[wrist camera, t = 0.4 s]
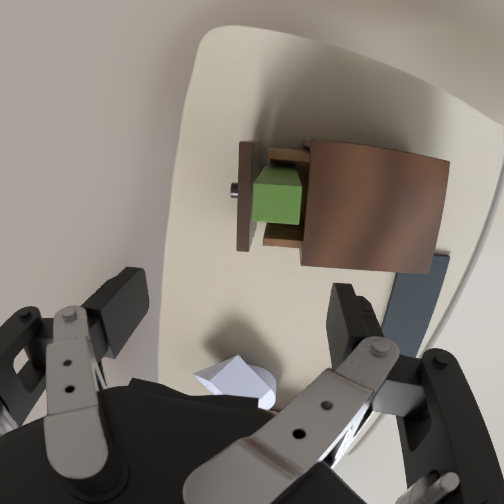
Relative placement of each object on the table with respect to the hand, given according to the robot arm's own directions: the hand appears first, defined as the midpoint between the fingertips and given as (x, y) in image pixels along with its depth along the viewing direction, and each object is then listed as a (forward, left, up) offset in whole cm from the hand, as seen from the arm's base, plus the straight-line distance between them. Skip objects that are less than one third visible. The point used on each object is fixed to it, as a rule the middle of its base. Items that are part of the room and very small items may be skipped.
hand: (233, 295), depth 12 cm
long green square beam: (-2, +1, -23) cm, 23 cm away
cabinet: (-1, +11, -25) cm, 27 cm away
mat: (+17, +22, -25) cm, 37 cm away
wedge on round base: (+30, -2, -25) cm, 39 cm away
